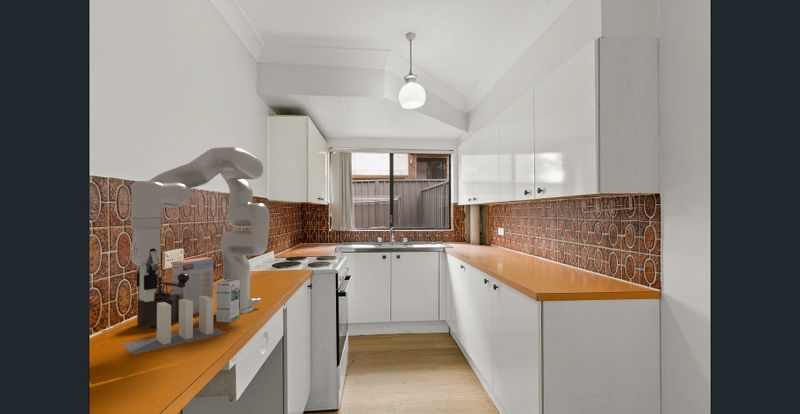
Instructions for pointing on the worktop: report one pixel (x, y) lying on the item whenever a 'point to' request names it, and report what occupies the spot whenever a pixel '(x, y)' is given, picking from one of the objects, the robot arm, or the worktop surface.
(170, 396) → the worktop surface
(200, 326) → the domino
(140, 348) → the mat
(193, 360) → the worktop surface
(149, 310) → the dark block with crank
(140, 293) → the domino
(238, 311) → the syrup box
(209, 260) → the cracker box
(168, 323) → the domino
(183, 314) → the domino
